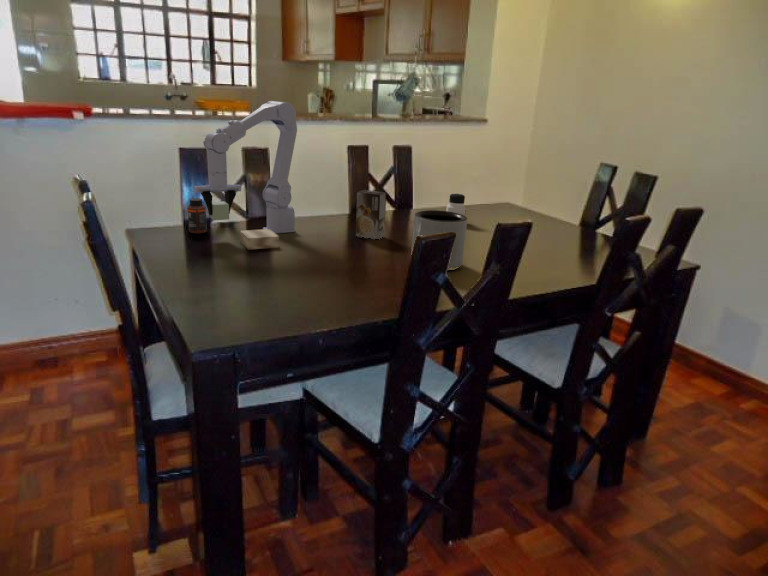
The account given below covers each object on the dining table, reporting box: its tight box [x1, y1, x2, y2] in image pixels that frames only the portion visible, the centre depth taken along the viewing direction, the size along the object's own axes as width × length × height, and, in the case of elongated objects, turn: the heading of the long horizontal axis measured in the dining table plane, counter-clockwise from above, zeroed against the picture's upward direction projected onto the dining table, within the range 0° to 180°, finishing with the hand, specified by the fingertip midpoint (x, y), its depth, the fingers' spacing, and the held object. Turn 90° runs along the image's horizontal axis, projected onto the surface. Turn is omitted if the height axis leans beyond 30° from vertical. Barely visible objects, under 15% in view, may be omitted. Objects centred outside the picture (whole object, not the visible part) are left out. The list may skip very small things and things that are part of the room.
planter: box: [410, 209, 468, 269], centre depth 170 cm, size 16×16×16 cm
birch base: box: [239, 228, 280, 251], centre depth 182 cm, size 10×10×4 cm
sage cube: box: [209, 201, 230, 221], centre depth 183 cm, size 5×5×5 cm
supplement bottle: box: [187, 198, 208, 234], centre depth 191 cm, size 6×6×11 cm
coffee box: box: [355, 189, 387, 240], centre depth 198 cm, size 9×6×16 cm
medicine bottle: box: [445, 193, 467, 216], centre depth 229 cm, size 7×7×12 cm
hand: (219, 213), depth 184 cm, fingers closed on sage cube, 5 cm apart
